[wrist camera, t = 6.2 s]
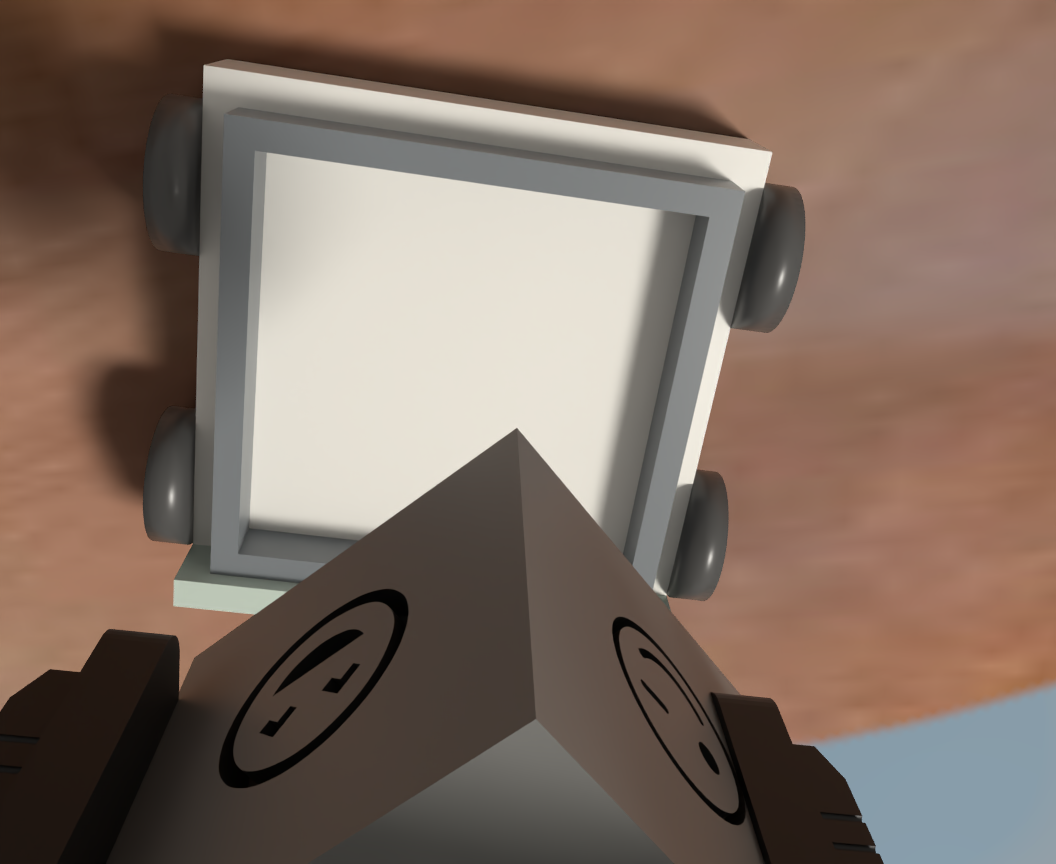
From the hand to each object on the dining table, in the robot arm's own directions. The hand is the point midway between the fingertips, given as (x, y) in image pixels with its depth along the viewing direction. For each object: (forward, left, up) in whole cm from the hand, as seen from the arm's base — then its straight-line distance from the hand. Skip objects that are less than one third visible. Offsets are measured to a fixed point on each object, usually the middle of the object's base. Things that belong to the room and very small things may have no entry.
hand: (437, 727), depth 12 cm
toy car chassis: (0, 0, -14) cm, 14 cm away
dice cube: (0, 0, -1) cm, 1 cm away
